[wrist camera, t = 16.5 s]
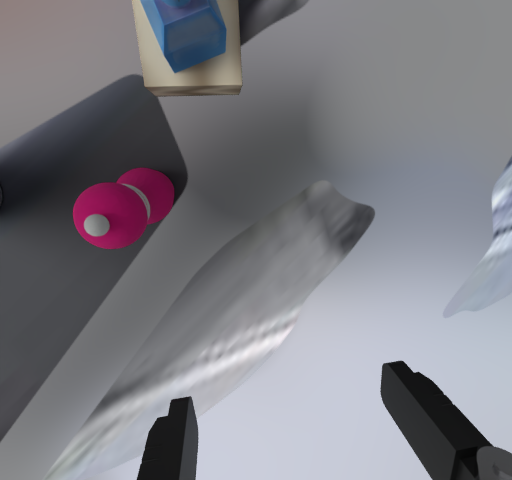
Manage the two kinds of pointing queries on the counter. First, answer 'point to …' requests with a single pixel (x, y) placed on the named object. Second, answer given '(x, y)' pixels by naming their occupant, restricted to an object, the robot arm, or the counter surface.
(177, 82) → the birch block
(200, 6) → the perfume bottle
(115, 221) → the pepper mill
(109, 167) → the counter surface
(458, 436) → the robot arm
